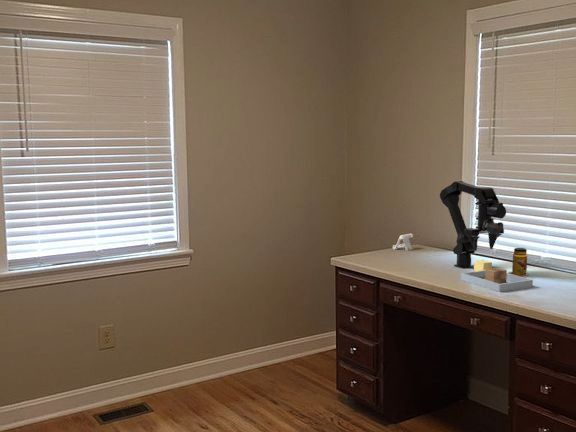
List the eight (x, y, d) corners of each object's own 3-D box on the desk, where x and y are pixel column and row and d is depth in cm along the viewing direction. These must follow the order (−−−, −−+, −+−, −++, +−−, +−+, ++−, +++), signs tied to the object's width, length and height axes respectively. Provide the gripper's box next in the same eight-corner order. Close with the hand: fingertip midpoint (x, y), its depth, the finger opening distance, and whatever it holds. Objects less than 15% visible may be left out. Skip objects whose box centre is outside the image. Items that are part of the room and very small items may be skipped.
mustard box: (473, 271, 299) (474, 261, 299) (482, 270, 302) (482, 259, 301) (483, 274, 294) (483, 263, 293) (491, 273, 296) (492, 262, 296)
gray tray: (460, 279, 283) (461, 273, 283) (492, 275, 291) (493, 269, 290) (499, 291, 262) (499, 284, 262) (532, 287, 270) (532, 279, 270)
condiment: (525, 277, 287) (526, 250, 285) (505, 275, 291) (506, 249, 290) (528, 274, 293) (529, 247, 292) (509, 272, 297) (510, 246, 296)
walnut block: (497, 281, 280) (498, 267, 279) (506, 284, 276) (506, 270, 275) (485, 283, 277) (485, 269, 276) (493, 285, 273) (494, 271, 272)
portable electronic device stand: (403, 247, 359) (403, 232, 358) (414, 249, 353) (414, 234, 352) (392, 249, 354) (392, 234, 353) (404, 251, 348) (404, 235, 347)
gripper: (481, 219, 283) (479, 254, 285) (513, 216, 291) (512, 251, 293) (463, 216, 293) (462, 250, 295) (495, 213, 301) (494, 246, 303)
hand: (483, 249), depth 296 cm, fingers open, 9 cm apart
